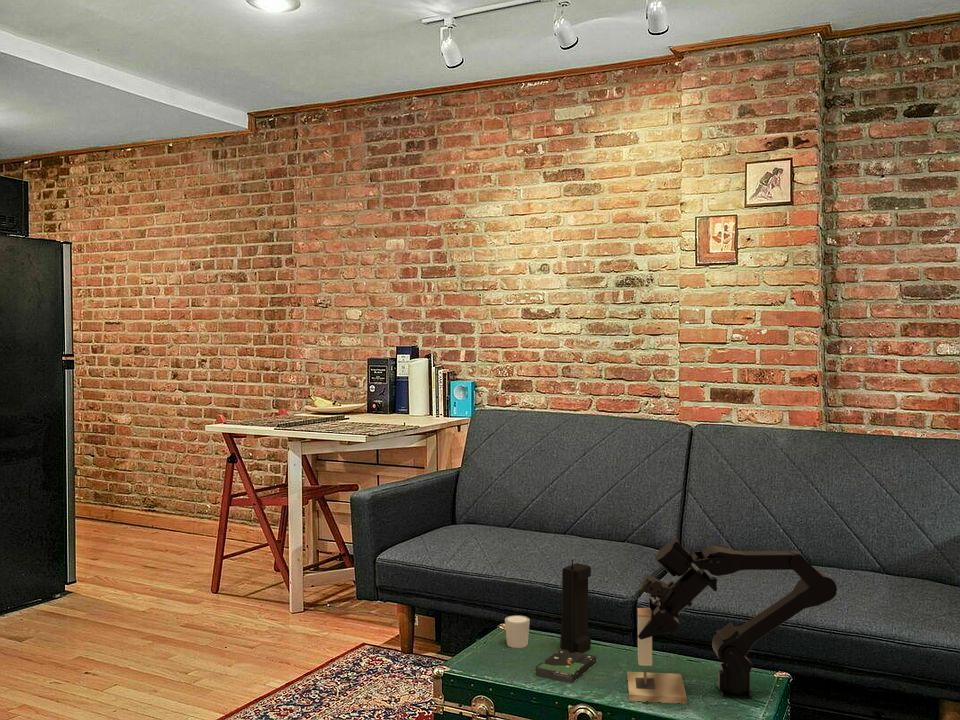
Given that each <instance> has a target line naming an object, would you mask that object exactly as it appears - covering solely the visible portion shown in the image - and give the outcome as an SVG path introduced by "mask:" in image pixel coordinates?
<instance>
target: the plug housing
mask: <svg viewBox="0 0 960 720" xmlns="http://www.w3.org/2000/svg"><path fill="white" fill-rule="evenodd" d="M650 619H651V608H649V607H648V608H647V607H637V627H638V629H637V662H638V666H645V667H647V666H648V667H649V666H650V667H652V666H653V636H651V637H648V638H645V639H642V640H641V639H640V638H639V637H638V635H639V634H640V632H641V631H642V630H643V628H644V627H645V626H646V624H647V623H648V622H649V621H650Z"/></svg>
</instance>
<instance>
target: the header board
mask: <svg viewBox="0 0 960 720" xmlns="http://www.w3.org/2000/svg"><path fill="white" fill-rule="evenodd" d="M626 673H627V675H626V677H627V679H626V680H628V681H627V688H628V689H627V691H629V692H628V700H629V702H637V701H641V702H642V701H643V703H645V702H646V701H648V702H646V703H657V702H661V703H660V704H662V703H664V704H677V703H680V704H681V703H682V705H687V703H688V701H687V700H688V699H687V694H686V693H687V692H686V689H685V685H684V681H683V677H682V676H683V675H682V674H681V673H670V672H669V673H667V672H648V671H647V669H646V668H643V672H642V671H626ZM680 704H679V705H680Z"/></svg>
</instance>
